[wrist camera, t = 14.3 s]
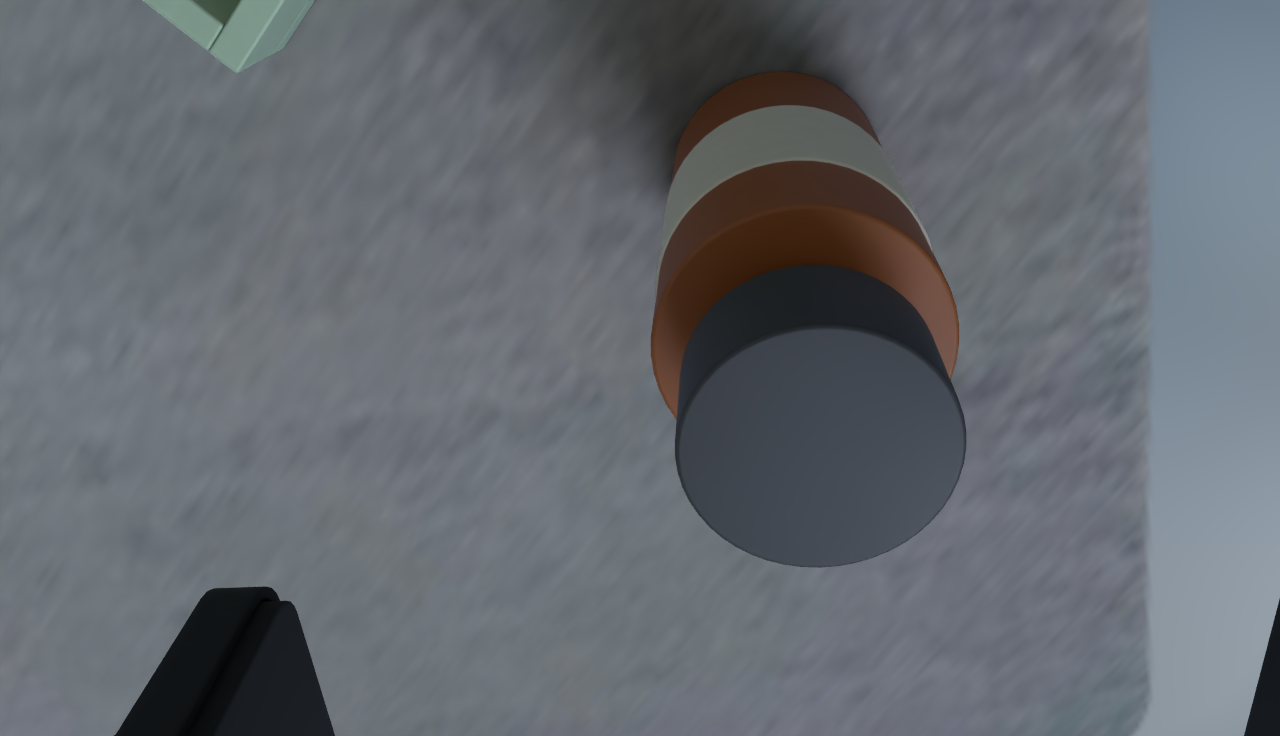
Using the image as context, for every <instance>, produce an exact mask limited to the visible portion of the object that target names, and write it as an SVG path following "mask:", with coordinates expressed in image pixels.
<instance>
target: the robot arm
mask: <svg viewBox="0 0 1280 736" xmlns="http://www.w3.org/2000/svg"><path fill="white" fill-rule="evenodd" d="M114 736H335V734H334V731H333V728H332V725H331V721H330V718H329V715H328V711H327V708H326V705H325V702H324V698H323V695H322V692H321V689H320V685H319V682H318V679H317V676H316V672H315V669H314V666H313V663H312V659H311V656H310V653H309V649H308V646H307V643H306V640H305V636H304V633H303V630H302V627H301V623H300V620H299V617H298V614H297V611H296V609H295V606H294V605H293V604H292V603H291V602H290V601H280V600H279V597H278V595H277V593H276V592H275V591H274V590H273V589H272V588H270V587H242V588H214V589H211V590H209V591H207V592H206V593H205V594H204V596H203V597H202V598H201V599H200V601H199V602H198V604H197V606H196V607H195V609H194V610H193V612H192V614H191V615H190V617H189V618H188V620H187V622H186V623H185V625H184V626H183V628H182V630H181V631H180V633H179V634H178V636H177V638H176V639H175V641H174V642H173V644H172V646H171V647H170V649H169V650H168V652H167V654H166V655H165V657H164V658H163V660H162V662H161V663H160V665H159V666H158V668H157V670H156V671H155V673H154V674H153V676H152V677H151V679H150V681H149V682H148V684H147V685H146V687H145V689H144V690H143V692H142V693H141V695H140V697H139V698H138V700H137V701H136V703H135V705H134V706H133V708H132V709H131V711H130V713H129V714H128V716H127V717H126V719H125V721H124V722H123V724H122V725H121V727H120V729H119V730H118V732H117V733H116V735H114ZM1244 736H1280V600H1279V604H1278V608H1277V611H1276V615H1275V619H1274V623H1273V627H1272V631H1271V634H1270V638H1269V642H1268V646H1267V650H1266V654H1265V658H1264V661H1263V665H1262V669H1261V673H1260V677H1259V681H1258V684H1257V688H1256V692H1255V696H1254V700H1253V704H1252V707H1251V712H1250V715H1249V719H1248V723H1247V727H1246V731H1245V735H1244Z"/></svg>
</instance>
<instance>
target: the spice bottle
mask: <svg viewBox="0 0 1280 736" xmlns="http://www.w3.org/2000/svg"><path fill="white" fill-rule="evenodd" d="M655 297H656V303H655V310H654V318H653V325H652V333H651V358H652V364H653V370H654V375H655V378H656V381H657V384H658V387H659V390H660V392H661V394H662V396H663V398H664V400H665V403H666V405H667V406H668V408H669V409H670V411H671V412H672V414H673V415H674V417H675V418H676V420H677V422H676V436H675V458H676V465H677V471H678V475H679V478H680V481H681V484H682V487H683V489H684V491H685V493H686V495H687V497H688V499H689V501H690V503H691V504H692V506H693V507H694V509H695V510H696V512H697V513H698V515H699V516H700V517H701V518H702V519H703V520H704V521H705V522H706V523H707V525H708V526H709V527H710V528H711V529H713V530H714V531H715V532H716V533H717V534H718V535H720V536H721V537H722V538H723V539H725V540H726V541H728V542H729V543H731V544H732V545H734V546H735V547H737V548H739V549H741V550H743V551H745V552H747V553H749V554H751V555H754V556H757V557H759V558H762V559H765V560H768V561H772V562H776V563H780V564H784V565H792V566H799V567H831V566H840V565H846V564H852V563H856V562H860V561H863V560H867V559H870V558H873V557H876V556H878V555H881V554H883V553H885V552H888V551H890V550H892V549H894V548H895V547H897V546H899V545H901V544H903V543H904V542H906V541H907V540H909V539H910V538H912V537H913V536H915V535H916V534H917V533H919V532H920V531H921V530H922V529H923V528H924V527H925V526H927V525H928V524H929V523H930V522H931V521H932V520H933V519H934V517H935V516H936V515H937V514H938V513H939V512H940V511H941V509H942V508H943V507H944V505H945V504H946V502H947V501H948V499H949V498H950V496H951V494H952V492H953V490H954V488H955V486H956V484H957V482H958V480H959V477H960V474H961V470H962V467H963V464H964V459H965V452H966V427H965V421H964V415H963V412H962V409H961V406H960V403H959V400H958V397H957V395H956V392H955V390H954V387H953V385H952V383H951V377H952V374H953V370H954V367H955V364H956V360H957V353H958V346H959V322H958V316H957V310H956V305H955V302H954V299H953V295H952V292H951V289H950V287H949V285H948V283H947V281H946V279H945V277H944V275H943V273H942V270H941V268H940V266H939V264H938V262H937V260H936V258H935V256H934V254H933V250H932V246H931V243H930V240H929V237H928V235H927V233H926V230H925V228H924V226H923V224H922V222H921V220H920V218H919V216H918V214H917V212H916V210H915V208H914V206H913V204H912V202H911V200H910V198H909V196H908V194H907V192H906V190H905V188H904V186H903V184H902V182H901V180H900V178H899V176H898V174H897V172H896V170H895V168H894V166H893V164H892V162H891V160H890V158H889V157H888V155H887V154H886V153H885V151H884V150H883V148H882V147H881V145H880V142H879V140H878V138H877V136H876V134H875V132H874V130H873V128H872V126H871V124H870V122H869V120H868V119H867V117H866V116H865V114H864V113H863V111H862V110H861V108H860V107H859V106H858V105H857V104H856V103H855V102H854V101H853V100H852V99H851V98H850V97H849V96H848V95H846V94H845V93H844V92H843V91H841V90H840V89H838V88H837V87H835V86H833V85H832V84H830V83H828V82H826V81H823V80H821V79H819V78H816V77H813V76H809V75H805V74H801V73H794V72H769V73H761V74H757V75H753V76H749V77H746V78H743V79H741V80H739V81H736V82H734V83H732V84H730V85H728V86H726V87H725V88H723V89H721V90H720V91H718V92H717V93H716V94H714V95H713V96H712V97H710V98H709V99H708V100H707V101H706V102H705V103H704V104H703V105H702V106H701V107H700V108H699V109H698V110H697V112H696V113H695V114H694V116H693V117H692V118H691V119H690V121H689V123H688V125H687V126H686V128H685V130H684V131H683V134H682V136H681V139H680V141H679V143H678V147H677V150H676V154H675V159H674V166H673V174H672V181H671V187H670V190H669V194H668V198H667V201H666V208H665V215H664V223H663V230H662V237H661V244H660V251H659V259H658V266H657V273H656V281H655Z"/></svg>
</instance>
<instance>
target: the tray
mask: <svg viewBox="0 0 1280 736" xmlns="http://www.w3.org/2000/svg"><path fill="white" fill-rule="evenodd" d="M142 1H143V2H145V3H146V4H147V5H149V6H150V7H151V8H152V9H154V10H155V11H156V12H158V13H159V14H160V15H161V16H163V17H164V18H165V19H167V20H168V21H169V22H170V23H172V24H173V25H174V26H176V27H177V28H178V29H180V30H181V31H182V32H183V33H185V34H186V35H187V36H189V37H190V38H191V39H192V40H194V41H195V42H196V43H198V44H199V45H200V46H201V47H203V48H204V49H206V50H210V53H211V54H212V55H213V56H214V57H216V58H217V59H218V60H219V61H221V62H222V63H223V64H225V65H226V66H227V67H229V68H230V69H231V70H232V71H234V72H235V73H239V72H241V71H242V70H244V69H246V68H248V67H250V66H252V65H254V64H255V63H257V62H259V61H261V60H263V59H265V58H267V57H268V56H270V55H272V54H274V53H276V52H278V51H279V50H281V49H283V48H284V47H285V45H286V44H287V42H288V41H289V39H290V38H291V36H292V35H293V33H294V32H295V30H296V29H297V27H298V26H299V24H300V23H301V21H302V20H303V18H304V17H305V15H306V13H307V12H308V10H309V9H310V7H311V6H312V4H313V3H314V1H315V0H142Z"/></svg>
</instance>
